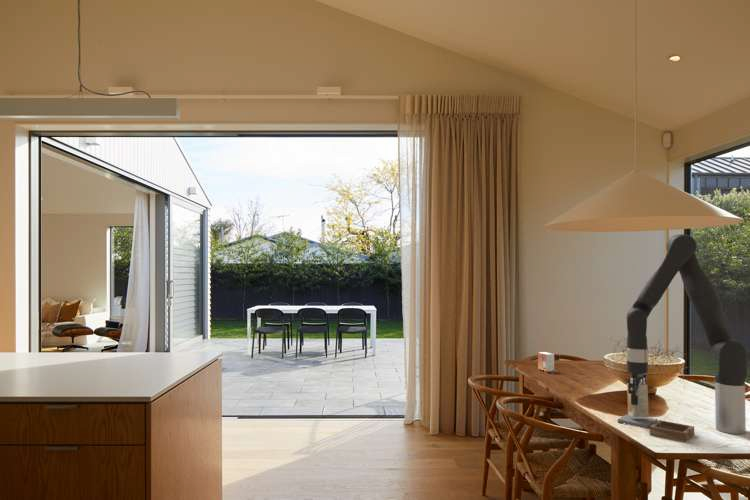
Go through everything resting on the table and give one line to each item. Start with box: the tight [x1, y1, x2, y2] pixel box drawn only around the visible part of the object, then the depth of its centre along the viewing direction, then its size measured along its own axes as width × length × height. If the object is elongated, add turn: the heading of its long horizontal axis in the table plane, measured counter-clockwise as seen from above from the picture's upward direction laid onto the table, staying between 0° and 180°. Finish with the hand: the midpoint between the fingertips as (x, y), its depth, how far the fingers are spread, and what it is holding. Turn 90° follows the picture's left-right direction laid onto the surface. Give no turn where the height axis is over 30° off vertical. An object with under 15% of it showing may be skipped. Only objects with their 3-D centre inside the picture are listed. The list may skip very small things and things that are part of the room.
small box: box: [537, 351, 555, 371], centre depth 308 cm, size 8×6×10 cm
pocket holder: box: [649, 419, 695, 443], centre depth 191 cm, size 11×11×3 cm
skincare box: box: [626, 383, 650, 418], centre depth 207 cm, size 6×4×12 cm
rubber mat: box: [617, 413, 659, 429], centre depth 206 cm, size 11×11×1 cm
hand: (637, 402), depth 207 cm, fingers closed on skincare box, 7 cm apart
